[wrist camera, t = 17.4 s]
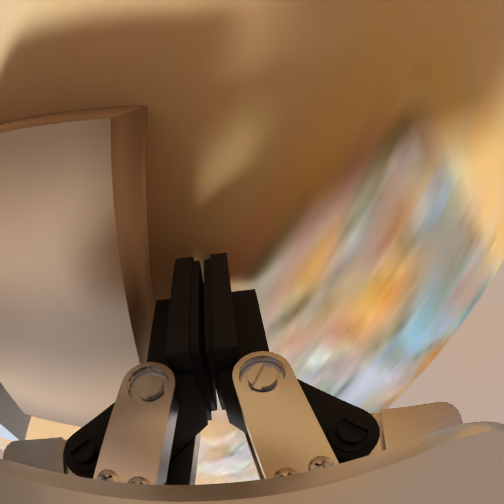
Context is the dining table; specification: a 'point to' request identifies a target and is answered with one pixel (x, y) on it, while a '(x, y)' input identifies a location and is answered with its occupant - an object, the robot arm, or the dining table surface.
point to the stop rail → (12, 418)
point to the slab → (73, 260)
